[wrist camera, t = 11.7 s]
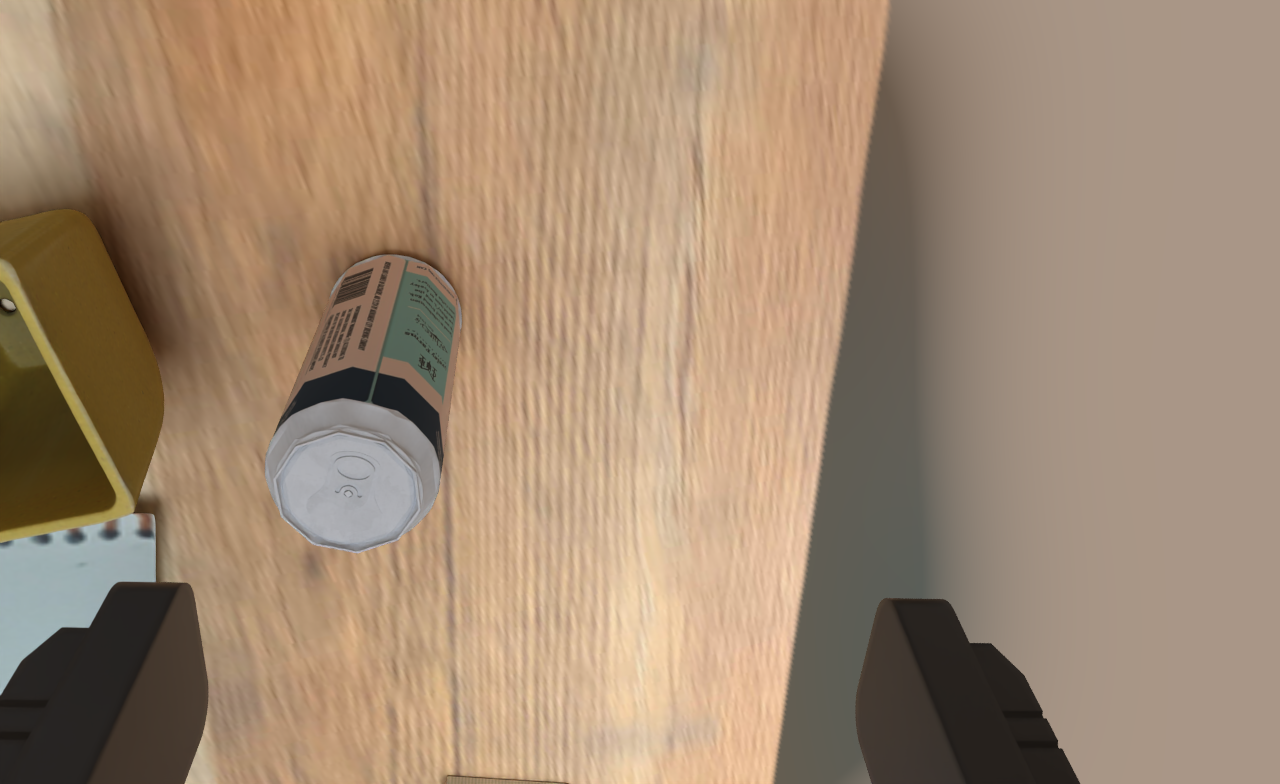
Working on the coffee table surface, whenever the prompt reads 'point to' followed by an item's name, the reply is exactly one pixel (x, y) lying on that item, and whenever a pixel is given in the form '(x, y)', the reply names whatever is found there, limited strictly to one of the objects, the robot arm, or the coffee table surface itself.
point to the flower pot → (70, 381)
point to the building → (488, 781)
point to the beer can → (369, 408)
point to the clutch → (66, 580)
